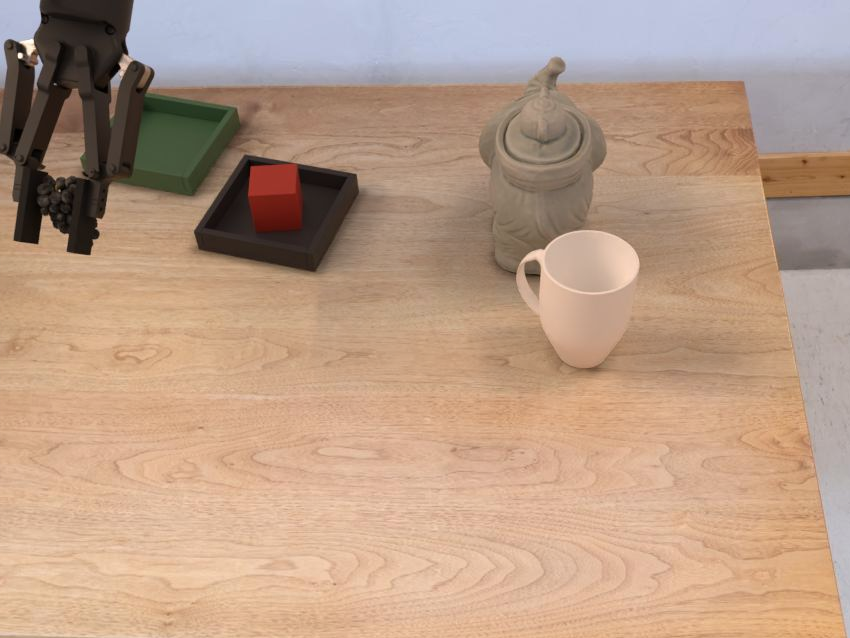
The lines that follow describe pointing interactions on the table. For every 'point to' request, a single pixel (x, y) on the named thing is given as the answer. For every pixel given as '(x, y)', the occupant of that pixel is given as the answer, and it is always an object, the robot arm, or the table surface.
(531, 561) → the table surface
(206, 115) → the green tray
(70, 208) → the fruit
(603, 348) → the mug
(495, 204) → the lidded stone jar
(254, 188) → the red block
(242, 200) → the black tray
